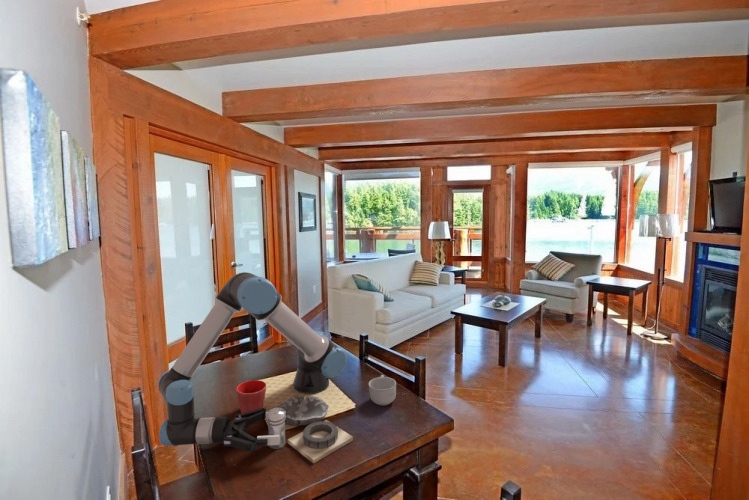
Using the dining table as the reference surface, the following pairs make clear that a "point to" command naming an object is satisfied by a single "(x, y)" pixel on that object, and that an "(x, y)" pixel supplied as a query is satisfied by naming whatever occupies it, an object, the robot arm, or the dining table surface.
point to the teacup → (382, 390)
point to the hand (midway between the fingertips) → (282, 426)
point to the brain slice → (304, 410)
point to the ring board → (321, 452)
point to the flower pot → (251, 395)
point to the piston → (277, 426)
